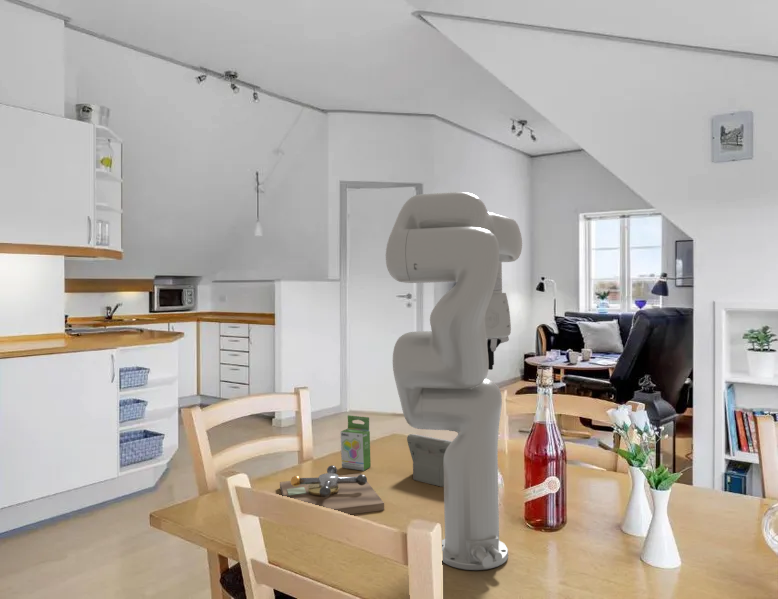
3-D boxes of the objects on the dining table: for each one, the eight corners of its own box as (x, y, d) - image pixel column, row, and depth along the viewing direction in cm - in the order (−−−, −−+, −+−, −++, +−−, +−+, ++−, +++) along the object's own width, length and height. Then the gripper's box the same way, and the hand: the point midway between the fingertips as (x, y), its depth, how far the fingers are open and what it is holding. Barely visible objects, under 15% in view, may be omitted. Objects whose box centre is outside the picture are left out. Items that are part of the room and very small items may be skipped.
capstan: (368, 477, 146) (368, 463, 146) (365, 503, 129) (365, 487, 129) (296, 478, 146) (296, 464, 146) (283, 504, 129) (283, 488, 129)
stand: (384, 509, 130) (384, 502, 130) (290, 521, 124) (290, 513, 124) (360, 479, 151) (360, 472, 151) (280, 488, 145) (279, 481, 145)
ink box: (340, 468, 161) (339, 417, 160) (349, 464, 164) (347, 415, 164) (363, 471, 157) (362, 420, 157) (371, 467, 161) (370, 417, 160)
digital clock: (472, 484, 146) (471, 440, 145) (444, 492, 140) (443, 446, 140) (428, 468, 159) (427, 428, 158) (401, 475, 153) (400, 434, 153)
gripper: (460, 287, 129) (461, 373, 129) (523, 286, 133) (524, 369, 133) (447, 287, 136) (448, 369, 136) (507, 286, 140) (509, 365, 140)
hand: (486, 368), depth 135 cm, fingers closed
